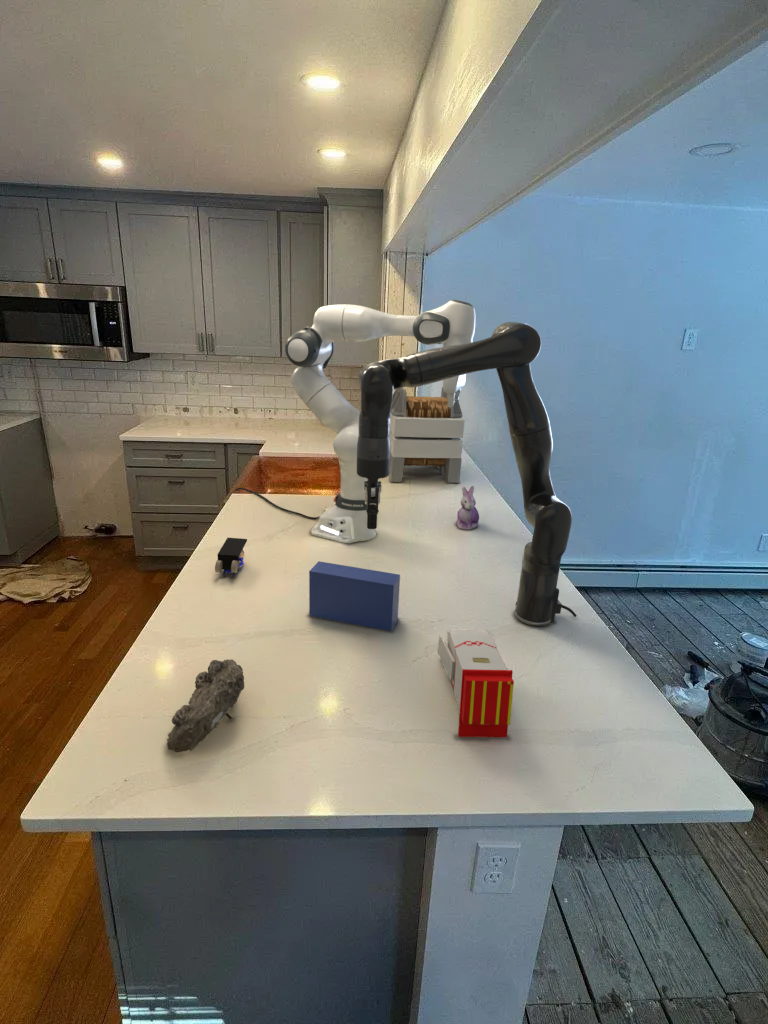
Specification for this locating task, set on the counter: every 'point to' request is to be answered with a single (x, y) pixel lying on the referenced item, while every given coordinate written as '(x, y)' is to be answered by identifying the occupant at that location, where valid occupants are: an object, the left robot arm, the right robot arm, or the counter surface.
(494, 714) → the toy
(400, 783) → the counter surface
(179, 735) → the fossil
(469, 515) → the figurine
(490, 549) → the counter surface
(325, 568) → the box
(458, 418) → the grey boxy piece
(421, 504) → the counter surface
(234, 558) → the figurine character
